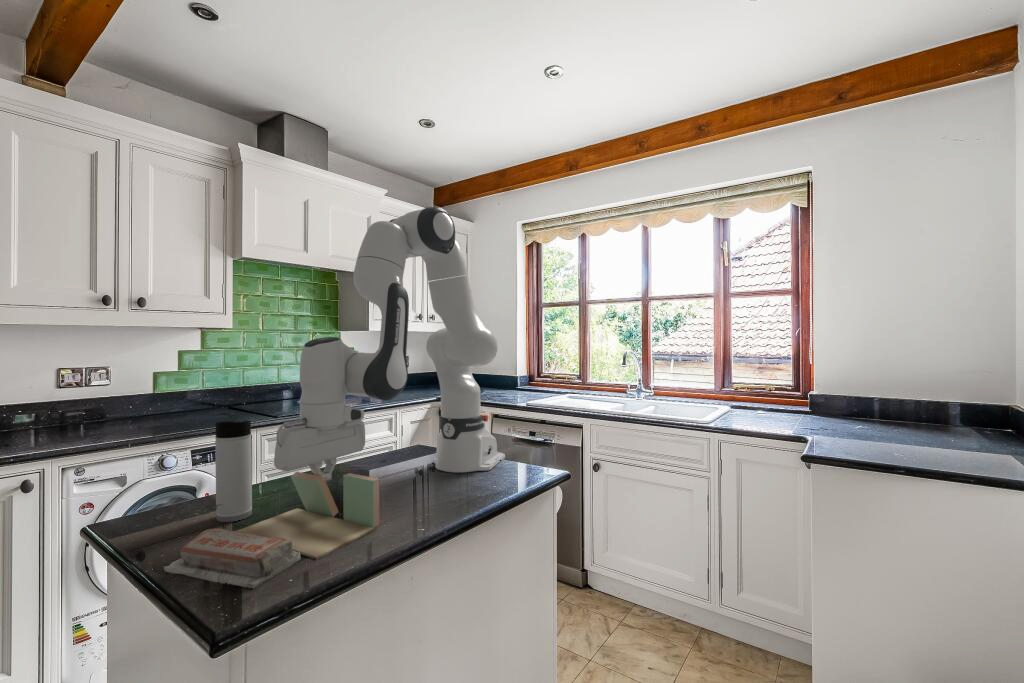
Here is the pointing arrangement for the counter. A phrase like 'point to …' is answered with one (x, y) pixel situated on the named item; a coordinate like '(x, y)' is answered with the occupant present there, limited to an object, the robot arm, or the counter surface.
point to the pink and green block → (361, 499)
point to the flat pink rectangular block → (314, 493)
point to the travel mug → (233, 471)
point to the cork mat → (310, 531)
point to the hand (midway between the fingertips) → (323, 481)
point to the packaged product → (234, 557)
